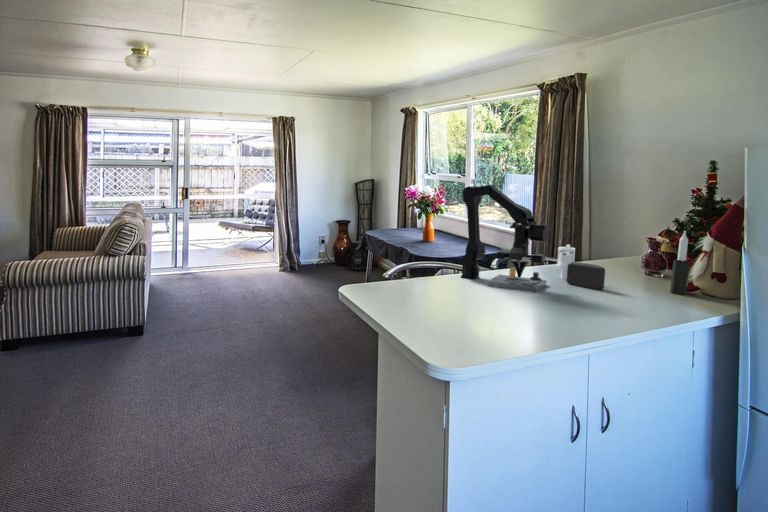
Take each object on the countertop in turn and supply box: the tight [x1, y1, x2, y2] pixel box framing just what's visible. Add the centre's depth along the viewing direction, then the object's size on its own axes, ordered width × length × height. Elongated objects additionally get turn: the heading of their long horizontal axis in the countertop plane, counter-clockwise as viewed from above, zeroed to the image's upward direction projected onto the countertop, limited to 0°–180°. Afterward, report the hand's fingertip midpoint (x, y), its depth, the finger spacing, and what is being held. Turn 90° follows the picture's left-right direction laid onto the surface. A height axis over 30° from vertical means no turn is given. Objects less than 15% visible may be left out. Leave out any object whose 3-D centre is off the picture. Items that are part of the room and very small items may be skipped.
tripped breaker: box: [506, 267, 518, 280], centre depth 220 cm, size 4×3×5 cm
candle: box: [669, 230, 690, 295], centre depth 210 cm, size 5×5×25 cm
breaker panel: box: [486, 271, 547, 293], centre depth 220 cm, size 20×16×5 cm
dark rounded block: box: [566, 261, 606, 291], centre depth 220 cm, size 16×5×9 cm, turn 41°
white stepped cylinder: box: [556, 244, 576, 281], centre depth 233 cm, size 7×7×15 cm
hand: (519, 277), depth 219 cm, fingers closed
